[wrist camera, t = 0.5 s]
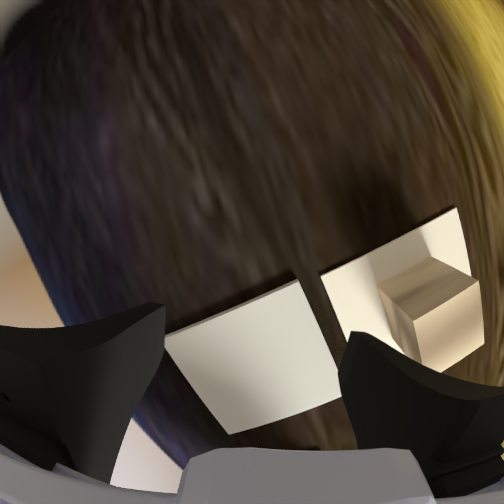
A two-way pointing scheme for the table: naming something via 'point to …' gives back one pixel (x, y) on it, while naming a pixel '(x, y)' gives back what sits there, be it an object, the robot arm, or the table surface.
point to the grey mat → (258, 360)
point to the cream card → (391, 273)
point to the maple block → (434, 313)
